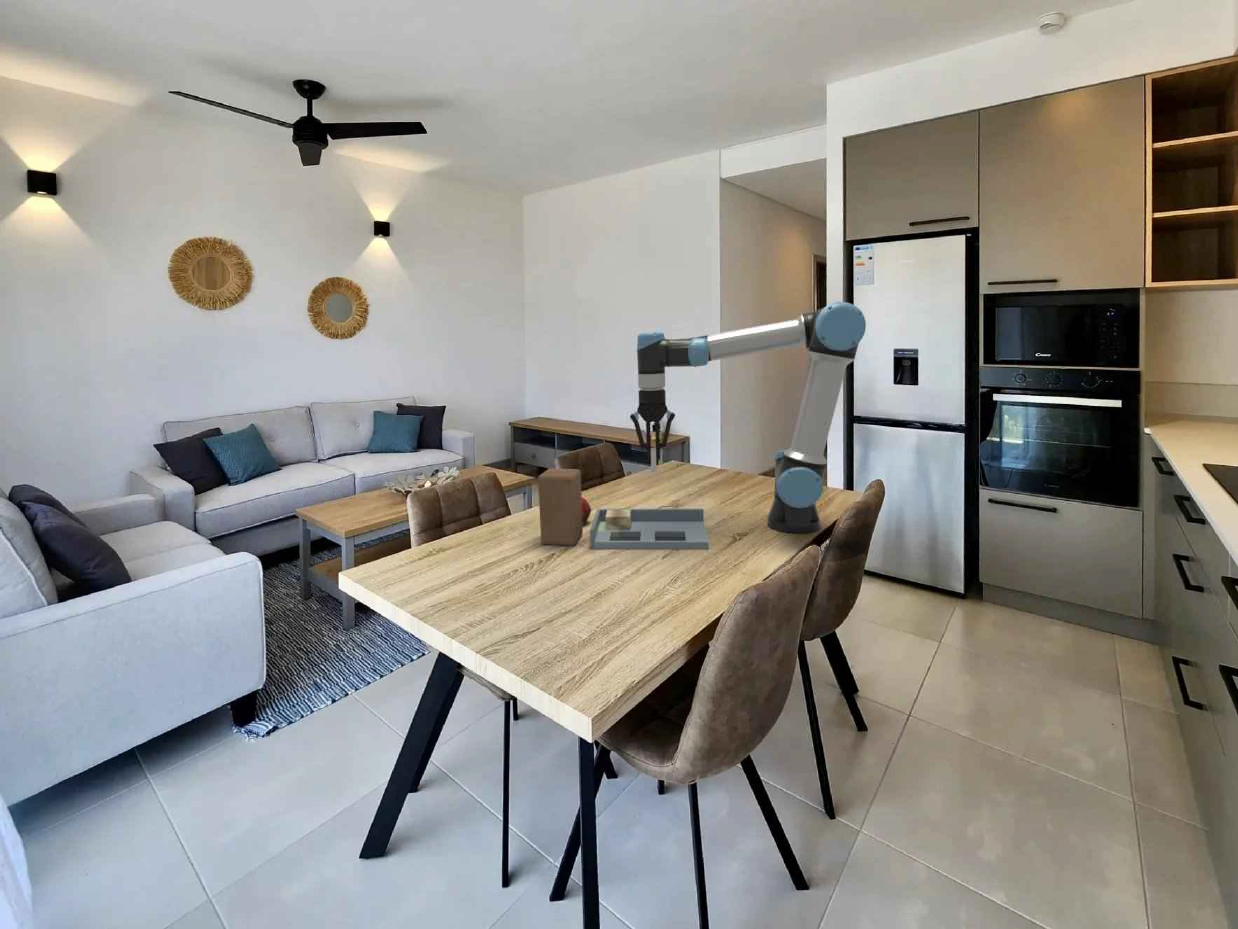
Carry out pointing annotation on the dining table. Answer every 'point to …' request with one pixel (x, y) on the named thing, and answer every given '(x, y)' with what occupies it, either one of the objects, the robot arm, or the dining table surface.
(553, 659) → the dining table surface
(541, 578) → the dining table surface
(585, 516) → the fruit
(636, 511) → the board
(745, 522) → the dining table surface
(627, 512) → the beech block
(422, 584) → the dining table surface
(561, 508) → the wooden block
